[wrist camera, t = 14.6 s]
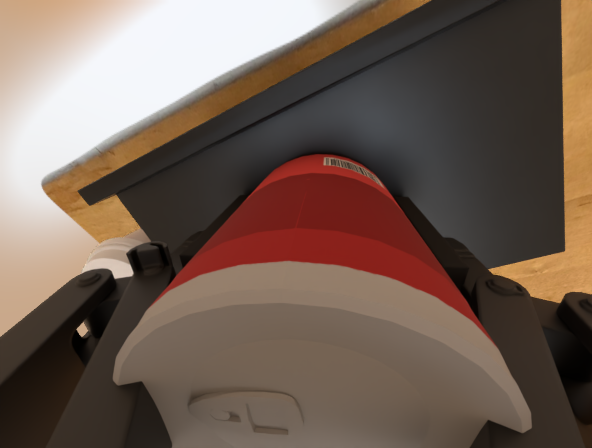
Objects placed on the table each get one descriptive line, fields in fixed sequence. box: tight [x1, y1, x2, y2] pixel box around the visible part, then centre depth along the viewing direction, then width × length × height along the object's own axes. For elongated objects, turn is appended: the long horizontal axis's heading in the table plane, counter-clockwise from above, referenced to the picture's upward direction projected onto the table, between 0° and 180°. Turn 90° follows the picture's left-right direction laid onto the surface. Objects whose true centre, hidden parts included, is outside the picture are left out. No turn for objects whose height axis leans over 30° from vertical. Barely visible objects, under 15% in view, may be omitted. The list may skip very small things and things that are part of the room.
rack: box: [78, 0, 565, 269], centre depth 21 cm, size 14×24×18 cm, turn 114°
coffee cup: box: [81, 228, 151, 279], centre depth 29 cm, size 10×10×15 cm
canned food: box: [113, 154, 532, 448], centre depth 10 cm, size 8×8×11 cm
